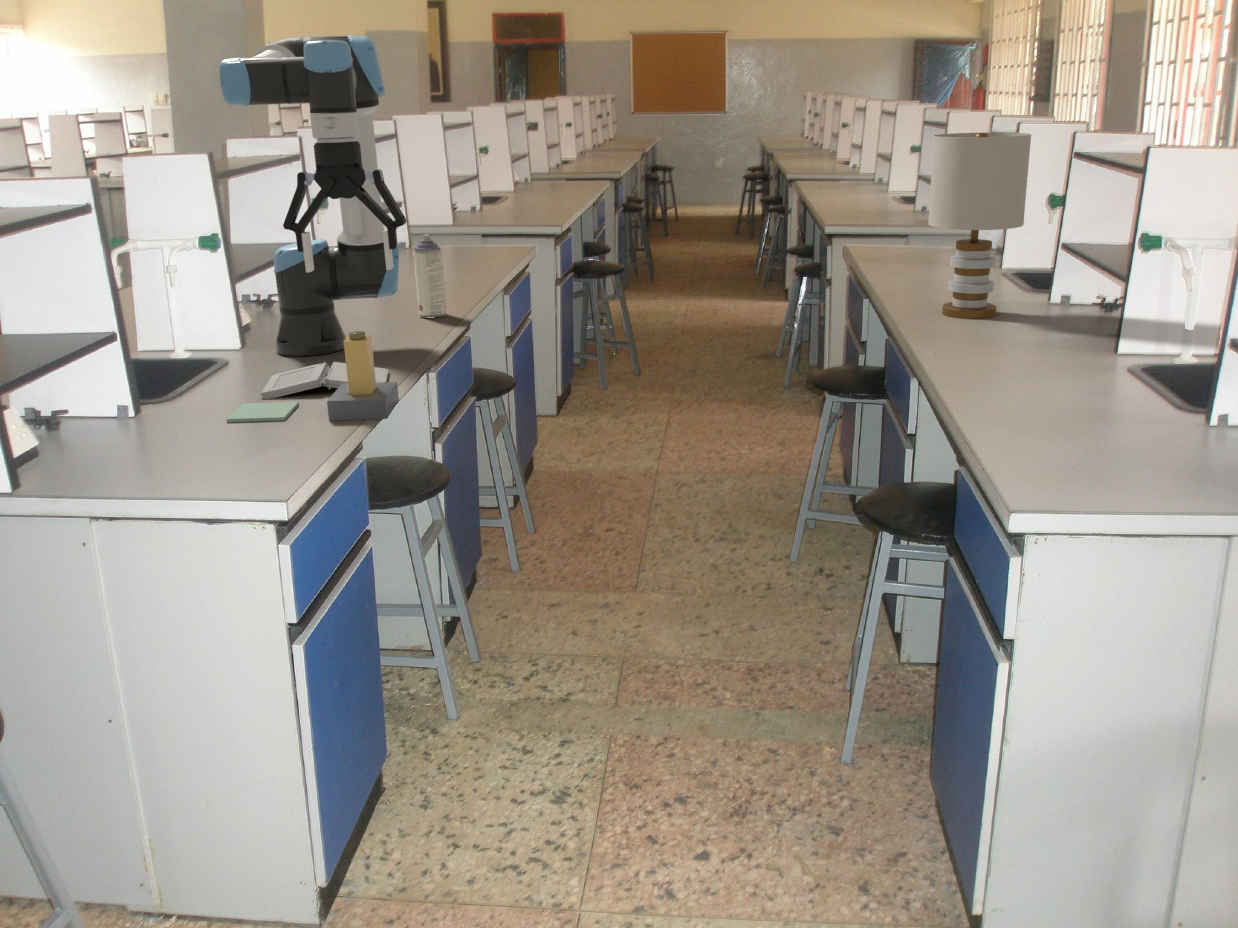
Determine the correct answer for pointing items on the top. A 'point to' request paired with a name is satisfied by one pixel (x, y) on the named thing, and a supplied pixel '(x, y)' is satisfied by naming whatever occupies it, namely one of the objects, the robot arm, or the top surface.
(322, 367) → the gadget
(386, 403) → the grey block with hole
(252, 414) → the mat
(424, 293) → the aerosol can
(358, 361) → the plug
